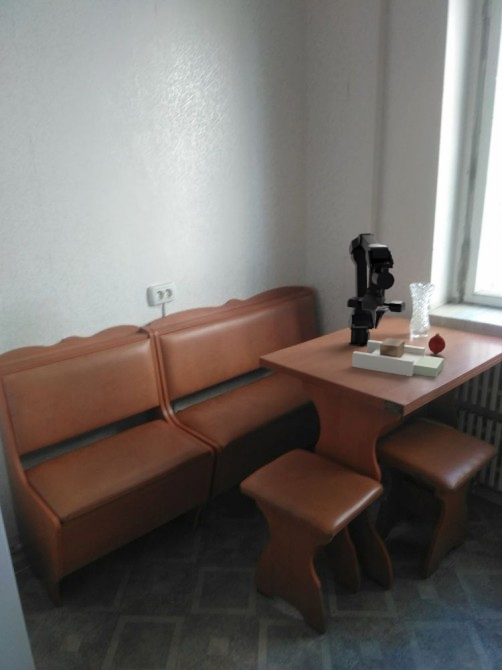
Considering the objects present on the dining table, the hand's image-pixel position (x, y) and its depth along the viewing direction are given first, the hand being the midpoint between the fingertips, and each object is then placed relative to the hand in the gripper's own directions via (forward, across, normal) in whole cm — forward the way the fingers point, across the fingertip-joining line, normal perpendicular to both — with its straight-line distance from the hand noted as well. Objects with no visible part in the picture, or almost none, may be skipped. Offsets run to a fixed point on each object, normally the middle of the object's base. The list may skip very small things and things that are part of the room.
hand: (374, 328), depth 173 cm
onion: (+12, +18, +18) cm, 28 cm away
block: (+9, +6, 0) cm, 11 cm away
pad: (+12, +19, 0) cm, 22 cm away
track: (+12, +6, 0) cm, 13 cm away
